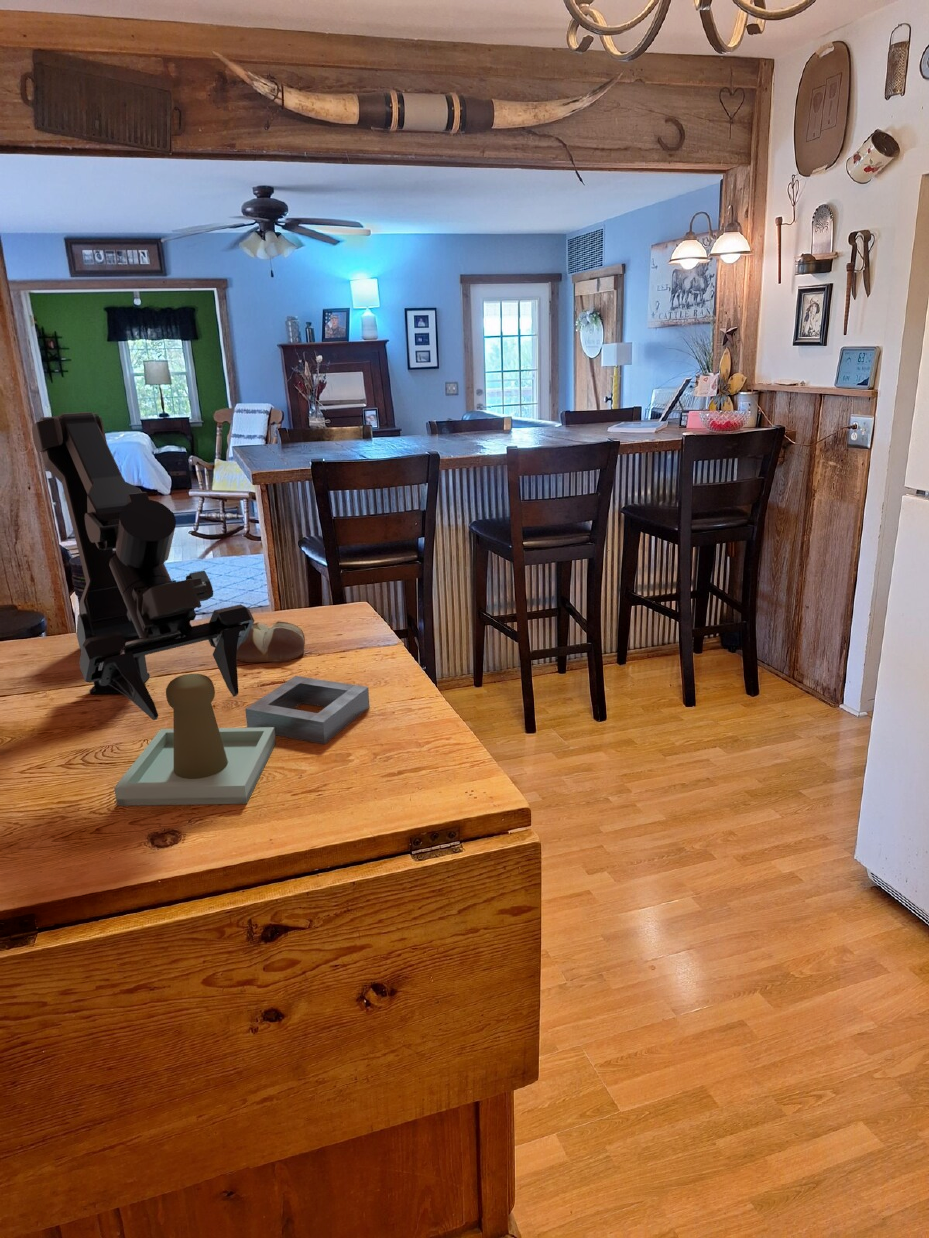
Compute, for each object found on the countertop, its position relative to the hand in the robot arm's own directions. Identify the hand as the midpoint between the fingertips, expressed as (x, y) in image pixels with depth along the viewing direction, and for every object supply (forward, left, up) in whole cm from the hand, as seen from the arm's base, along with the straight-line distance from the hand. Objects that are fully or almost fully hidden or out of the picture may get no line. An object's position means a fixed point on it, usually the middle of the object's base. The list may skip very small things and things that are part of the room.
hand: (197, 706), depth 90 cm
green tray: (-1, +1, -9) cm, 9 cm away
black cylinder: (-29, +45, -9) cm, 54 cm away
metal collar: (+9, +15, -9) cm, 20 cm away
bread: (-2, +40, -9) cm, 42 cm away
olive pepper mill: (-1, +1, -8) cm, 8 cm away
